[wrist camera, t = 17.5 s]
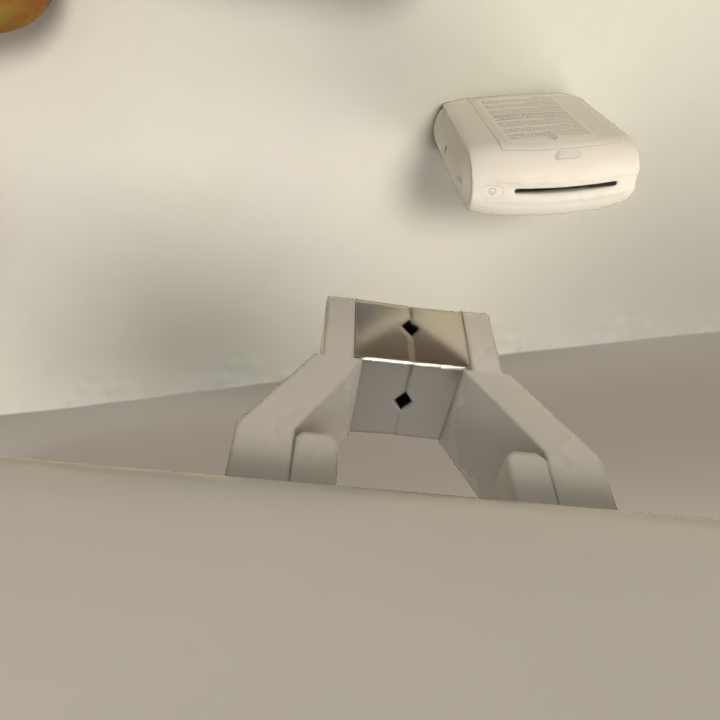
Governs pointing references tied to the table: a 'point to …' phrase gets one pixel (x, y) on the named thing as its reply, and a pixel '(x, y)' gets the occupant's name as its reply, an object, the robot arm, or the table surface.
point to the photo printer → (534, 155)
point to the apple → (19, 13)
